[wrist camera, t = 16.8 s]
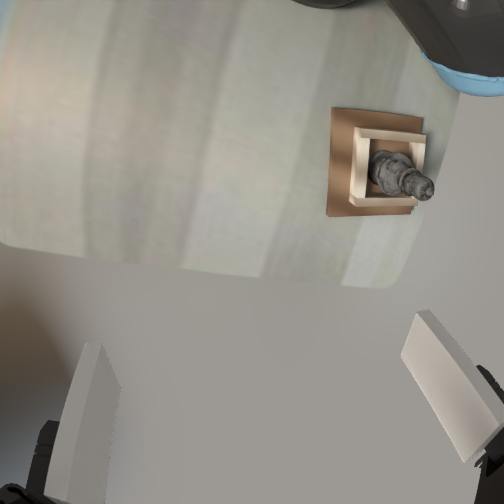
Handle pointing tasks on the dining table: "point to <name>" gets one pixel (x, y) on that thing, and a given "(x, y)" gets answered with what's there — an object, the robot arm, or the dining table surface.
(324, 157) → the dining table surface
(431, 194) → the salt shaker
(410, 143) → the caddy
